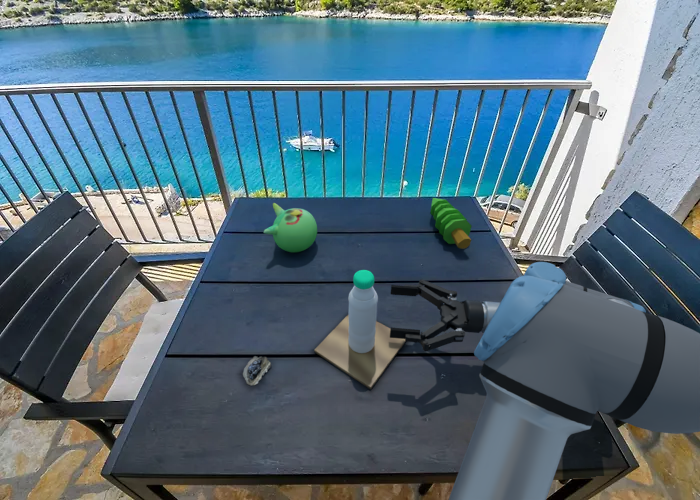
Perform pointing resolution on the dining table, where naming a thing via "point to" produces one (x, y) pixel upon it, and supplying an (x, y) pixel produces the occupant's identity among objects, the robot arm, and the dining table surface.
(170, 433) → the dining table surface
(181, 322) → the dining table surface
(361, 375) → the gold metal sheet
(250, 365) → the geode
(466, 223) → the decorative tree
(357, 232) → the dining table surface
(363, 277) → the water bottle
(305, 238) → the toy bird
